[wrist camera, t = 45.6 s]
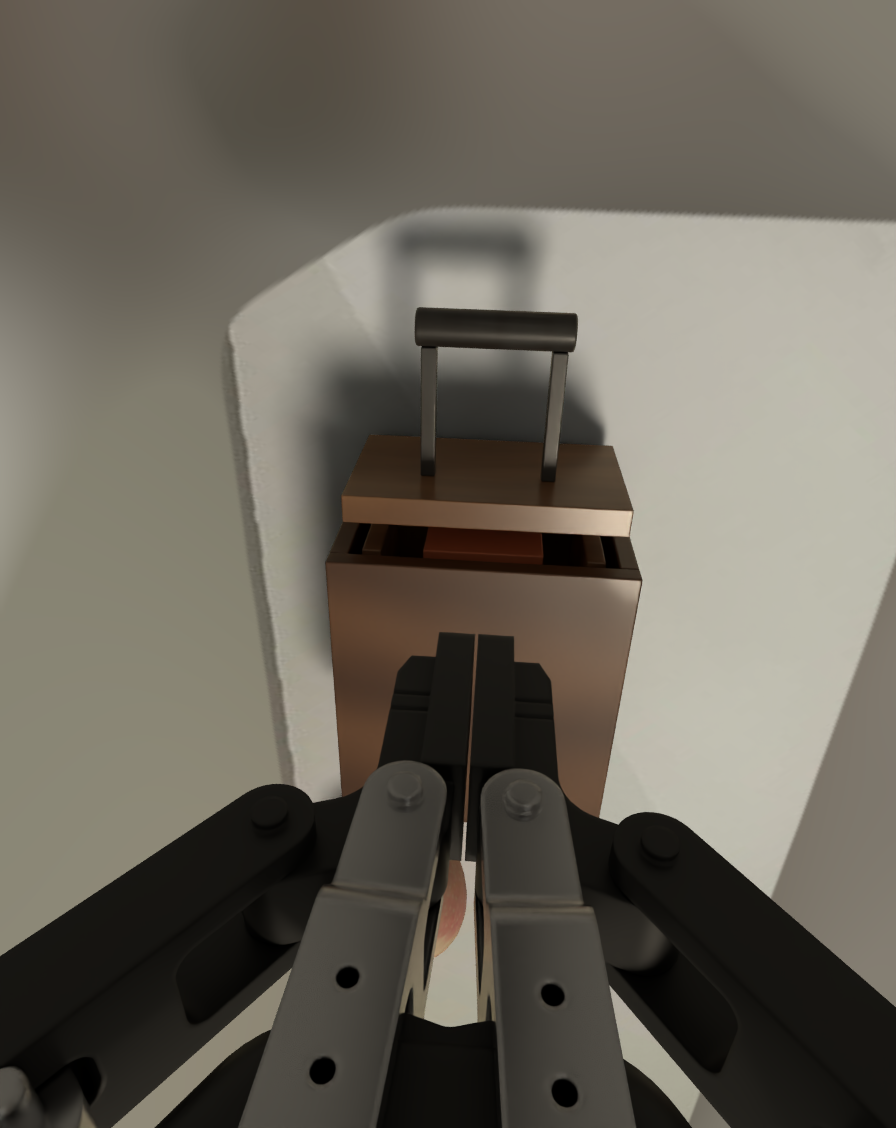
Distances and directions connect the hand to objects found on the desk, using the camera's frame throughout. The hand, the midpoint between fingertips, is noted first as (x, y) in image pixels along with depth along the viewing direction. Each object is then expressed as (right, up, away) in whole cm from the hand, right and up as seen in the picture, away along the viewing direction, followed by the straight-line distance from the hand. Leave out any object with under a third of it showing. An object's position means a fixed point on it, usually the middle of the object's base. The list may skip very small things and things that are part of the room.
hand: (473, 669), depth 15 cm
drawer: (+1, +5, +21) cm, 22 cm away
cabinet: (+1, 0, +26) cm, 26 cm away
